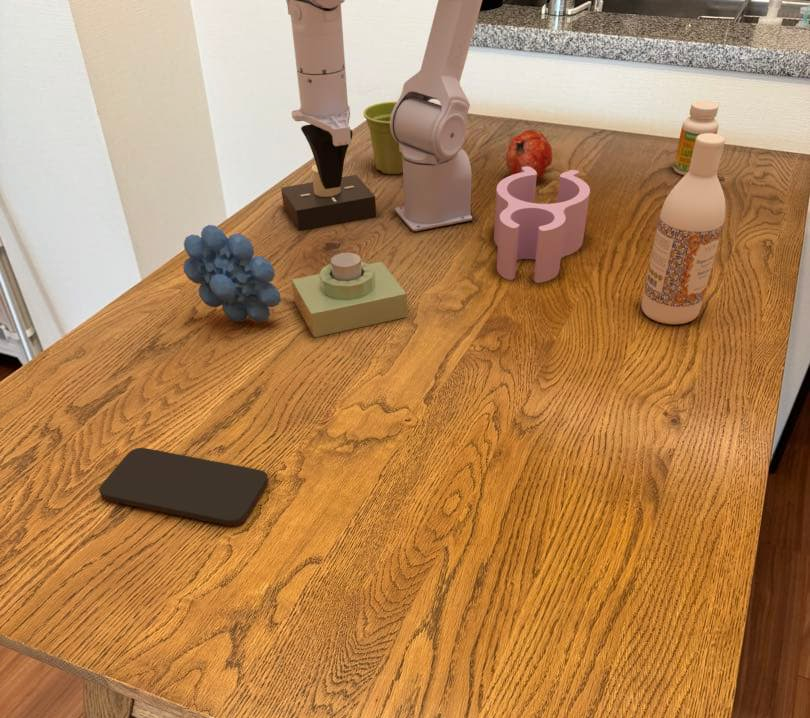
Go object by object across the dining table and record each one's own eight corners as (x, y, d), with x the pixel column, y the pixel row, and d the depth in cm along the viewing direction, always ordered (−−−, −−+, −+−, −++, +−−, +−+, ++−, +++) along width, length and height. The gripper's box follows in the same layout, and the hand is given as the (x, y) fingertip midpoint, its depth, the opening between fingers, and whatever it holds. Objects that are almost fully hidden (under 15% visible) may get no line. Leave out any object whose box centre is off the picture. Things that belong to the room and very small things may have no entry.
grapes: (182, 335, 95) (156, 239, 86) (203, 307, 99) (181, 213, 91) (272, 344, 93) (256, 247, 84) (290, 315, 97) (276, 220, 89)
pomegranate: (518, 181, 130) (484, 155, 122) (545, 139, 127) (512, 110, 120) (546, 200, 126) (513, 175, 119) (574, 158, 123) (542, 129, 116)
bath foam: (670, 332, 92) (714, 155, 78) (628, 308, 96) (662, 135, 82) (711, 314, 95) (760, 139, 80) (668, 292, 99) (707, 121, 85)
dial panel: (357, 194, 123) (356, 173, 120) (376, 216, 117) (375, 195, 115) (283, 207, 120) (280, 186, 118) (299, 231, 114) (296, 209, 112)
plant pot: (425, 157, 133) (424, 101, 126) (420, 179, 126) (419, 121, 120) (370, 157, 133) (367, 101, 127) (363, 179, 127) (359, 121, 121)
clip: (571, 286, 101) (578, 233, 96) (476, 276, 103) (478, 224, 98) (588, 220, 114) (595, 171, 109) (504, 213, 116) (507, 164, 111)
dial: (310, 188, 117) (307, 162, 114) (336, 184, 118) (333, 158, 115) (318, 198, 114) (315, 172, 112) (344, 194, 115) (342, 167, 113)
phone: (238, 523, 70) (93, 493, 74) (240, 530, 71) (96, 499, 74) (271, 471, 75) (134, 445, 78) (272, 477, 76) (136, 451, 79)
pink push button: (356, 266, 96) (355, 250, 95) (365, 279, 94) (364, 263, 92) (328, 271, 95) (327, 255, 94) (337, 285, 93) (335, 268, 92)
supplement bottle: (671, 175, 124) (685, 109, 117) (673, 163, 128) (687, 97, 121) (706, 178, 123) (723, 111, 116) (708, 165, 127) (724, 99, 120)
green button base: (383, 284, 102) (381, 247, 99) (407, 317, 96) (406, 279, 93) (294, 302, 100) (289, 265, 96) (314, 337, 94) (309, 299, 90)
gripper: (273, 56, 95) (288, 171, 105) (303, 90, 86) (316, 213, 96) (328, 49, 97) (338, 163, 107) (364, 81, 87) (371, 203, 97)
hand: (331, 186), depth 101 cm, fingers closed
